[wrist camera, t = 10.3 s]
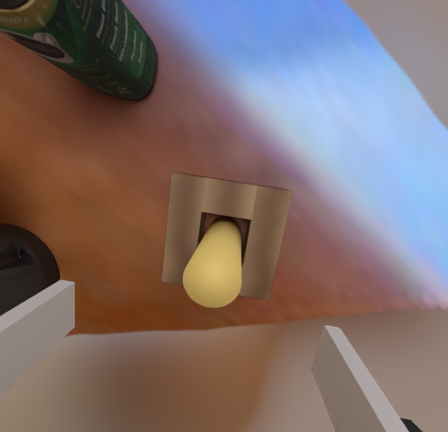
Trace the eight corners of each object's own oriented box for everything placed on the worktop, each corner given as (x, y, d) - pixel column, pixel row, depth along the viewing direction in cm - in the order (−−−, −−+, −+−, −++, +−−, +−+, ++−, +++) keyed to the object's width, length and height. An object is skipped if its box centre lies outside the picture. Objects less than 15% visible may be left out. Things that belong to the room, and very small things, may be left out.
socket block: (171, 267, 31) (161, 281, 27) (181, 172, 28) (171, 172, 24) (265, 284, 30) (268, 300, 26) (285, 188, 27) (292, 191, 23)
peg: (207, 242, 30) (179, 302, 16) (211, 213, 29) (186, 248, 15) (238, 248, 29) (236, 312, 16) (243, 218, 29) (246, 259, 15)
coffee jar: (164, 38, 25) (-38, -325, 7) (152, 108, 27) (-36, -35, 8) (87, 18, 25) (-309, -387, 7) (80, 88, 27) (-254, -91, 9)
